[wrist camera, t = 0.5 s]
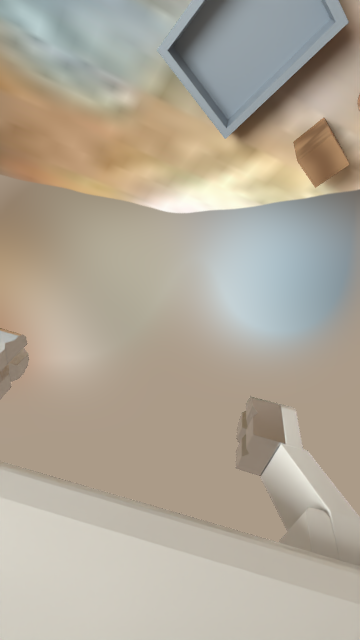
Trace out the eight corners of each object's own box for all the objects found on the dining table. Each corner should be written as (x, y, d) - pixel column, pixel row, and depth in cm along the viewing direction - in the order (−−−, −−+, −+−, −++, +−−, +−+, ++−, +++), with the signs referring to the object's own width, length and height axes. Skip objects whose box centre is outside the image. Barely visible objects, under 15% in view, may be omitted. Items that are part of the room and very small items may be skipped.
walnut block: (323, 117, 47) (332, 134, 41) (339, 144, 49) (349, 164, 43) (293, 141, 50) (297, 161, 44) (309, 166, 52) (315, 187, 46)
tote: (278, -114, 33) (280, -124, 29) (341, 18, 39) (348, 22, 36) (164, 44, 44) (156, 50, 40) (227, 128, 50) (225, 139, 46)
